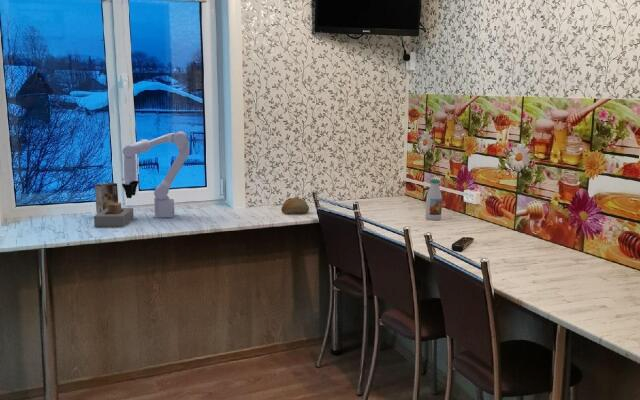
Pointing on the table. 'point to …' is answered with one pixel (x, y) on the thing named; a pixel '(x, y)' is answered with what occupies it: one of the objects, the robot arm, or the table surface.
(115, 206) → the walnut block
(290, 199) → the bread roll
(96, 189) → the coffee box
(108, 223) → the well block
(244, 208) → the table surface
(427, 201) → the milk bottle
